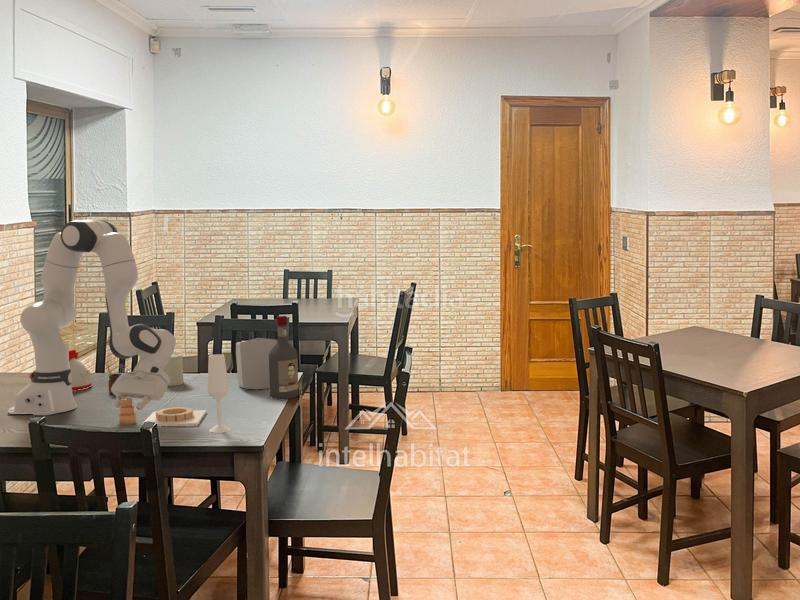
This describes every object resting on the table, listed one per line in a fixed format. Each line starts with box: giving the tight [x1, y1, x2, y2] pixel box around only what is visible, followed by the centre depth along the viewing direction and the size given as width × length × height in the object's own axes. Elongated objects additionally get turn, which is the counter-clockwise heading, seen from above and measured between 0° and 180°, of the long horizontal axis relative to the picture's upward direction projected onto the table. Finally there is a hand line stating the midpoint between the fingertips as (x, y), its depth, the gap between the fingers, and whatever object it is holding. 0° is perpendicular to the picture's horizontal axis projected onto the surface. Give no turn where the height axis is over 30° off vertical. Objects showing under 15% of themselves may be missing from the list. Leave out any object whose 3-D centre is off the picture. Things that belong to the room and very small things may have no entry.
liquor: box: [269, 315, 299, 400], centre depth 329 cm, size 9×9×30 cm
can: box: [163, 352, 185, 387], centre depth 357 cm, size 9×9×12 cm
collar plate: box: [140, 406, 207, 428], centre depth 298 cm, size 18×18×3 cm
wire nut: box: [118, 397, 137, 426], centre depth 295 cm, size 5×5×8 cm
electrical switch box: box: [235, 337, 278, 390], centre depth 350 cm, size 15×15×20 cm
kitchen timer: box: [68, 349, 93, 390], centre depth 352 cm, size 14×14×15 cm
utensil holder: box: [106, 362, 124, 395], centre depth 341 cm, size 6×6×12 cm
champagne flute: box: [206, 354, 231, 434], centre depth 282 cm, size 7×7×24 cm
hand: (127, 407), depth 295 cm, fingers open, 8 cm apart
